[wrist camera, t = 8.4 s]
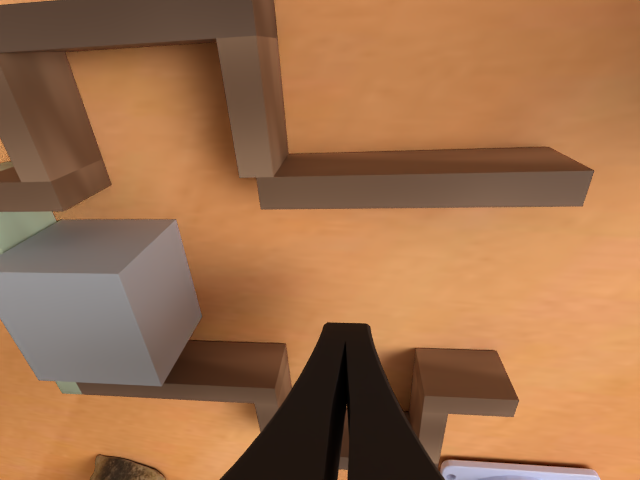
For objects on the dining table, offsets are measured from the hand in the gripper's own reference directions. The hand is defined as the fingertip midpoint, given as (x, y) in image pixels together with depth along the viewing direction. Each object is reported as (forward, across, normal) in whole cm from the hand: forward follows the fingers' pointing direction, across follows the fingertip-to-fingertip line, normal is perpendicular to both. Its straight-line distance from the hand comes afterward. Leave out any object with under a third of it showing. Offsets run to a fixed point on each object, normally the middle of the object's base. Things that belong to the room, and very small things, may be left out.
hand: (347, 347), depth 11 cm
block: (+4, +9, 0) cm, 10 cm away
